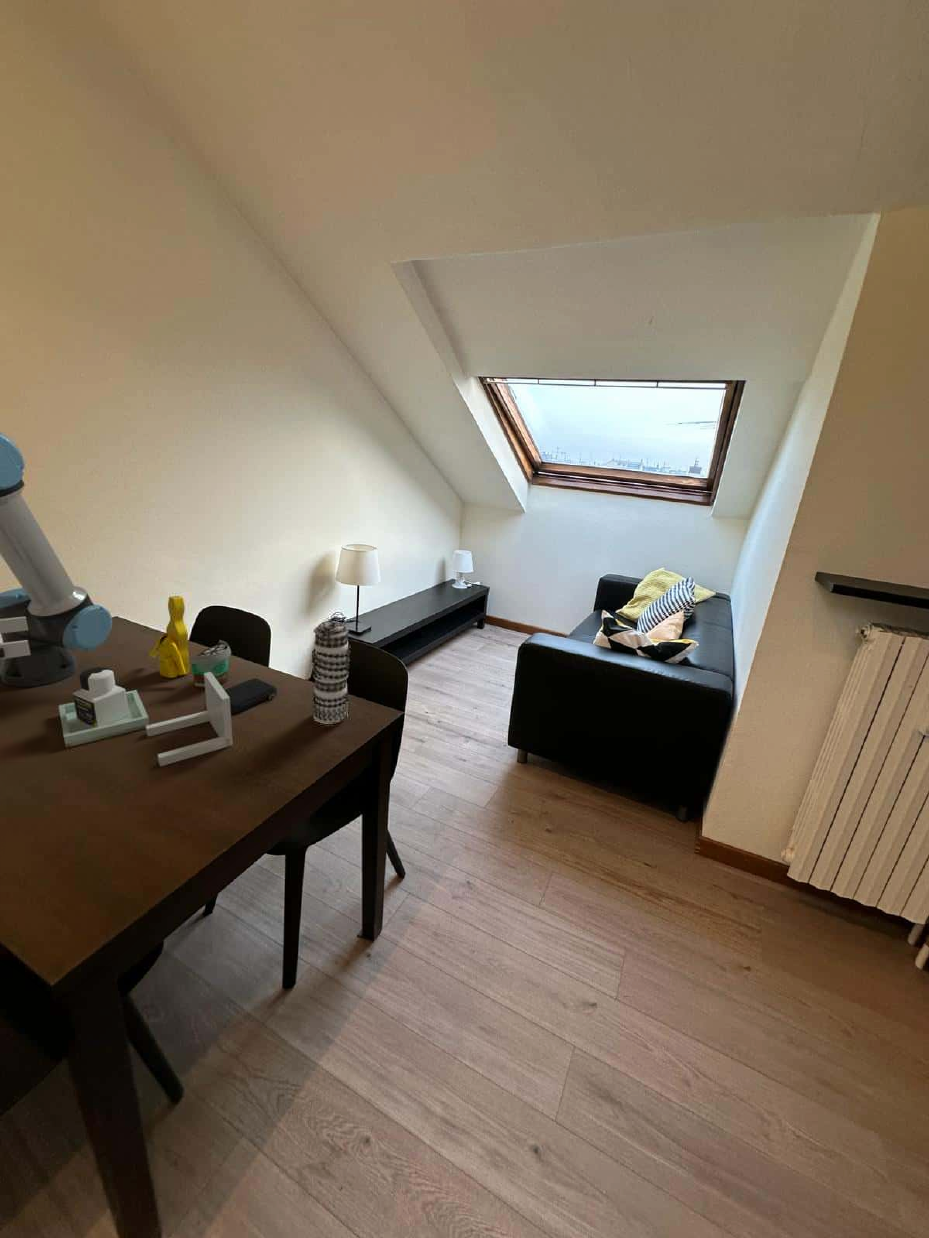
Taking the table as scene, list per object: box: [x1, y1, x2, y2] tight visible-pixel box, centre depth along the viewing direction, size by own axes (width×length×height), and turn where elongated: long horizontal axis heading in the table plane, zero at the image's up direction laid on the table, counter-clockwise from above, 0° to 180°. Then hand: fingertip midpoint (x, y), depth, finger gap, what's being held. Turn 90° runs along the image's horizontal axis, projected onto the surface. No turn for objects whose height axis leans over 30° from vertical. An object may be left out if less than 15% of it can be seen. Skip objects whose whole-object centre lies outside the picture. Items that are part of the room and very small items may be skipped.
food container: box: [189, 639, 232, 690], centre depth 131 cm, size 12×6×10 cm, turn 168°
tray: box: [58, 689, 150, 748], centre depth 111 cm, size 15×15×2 cm
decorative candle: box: [311, 620, 352, 724], centre depth 119 cm, size 9×9×25 cm
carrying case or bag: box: [224, 678, 277, 715], centre depth 126 cm, size 11×3×15 cm
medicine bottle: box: [72, 666, 129, 728], centre depth 109 cm, size 7×7×12 cm
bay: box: [145, 672, 234, 767], centre depth 106 cm, size 14×14×12 cm
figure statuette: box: [148, 595, 191, 679], centre depth 132 cm, size 18×8×22 cm, turn 58°
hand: (28, 634), depth 94 cm, fingers open, 13 cm apart
